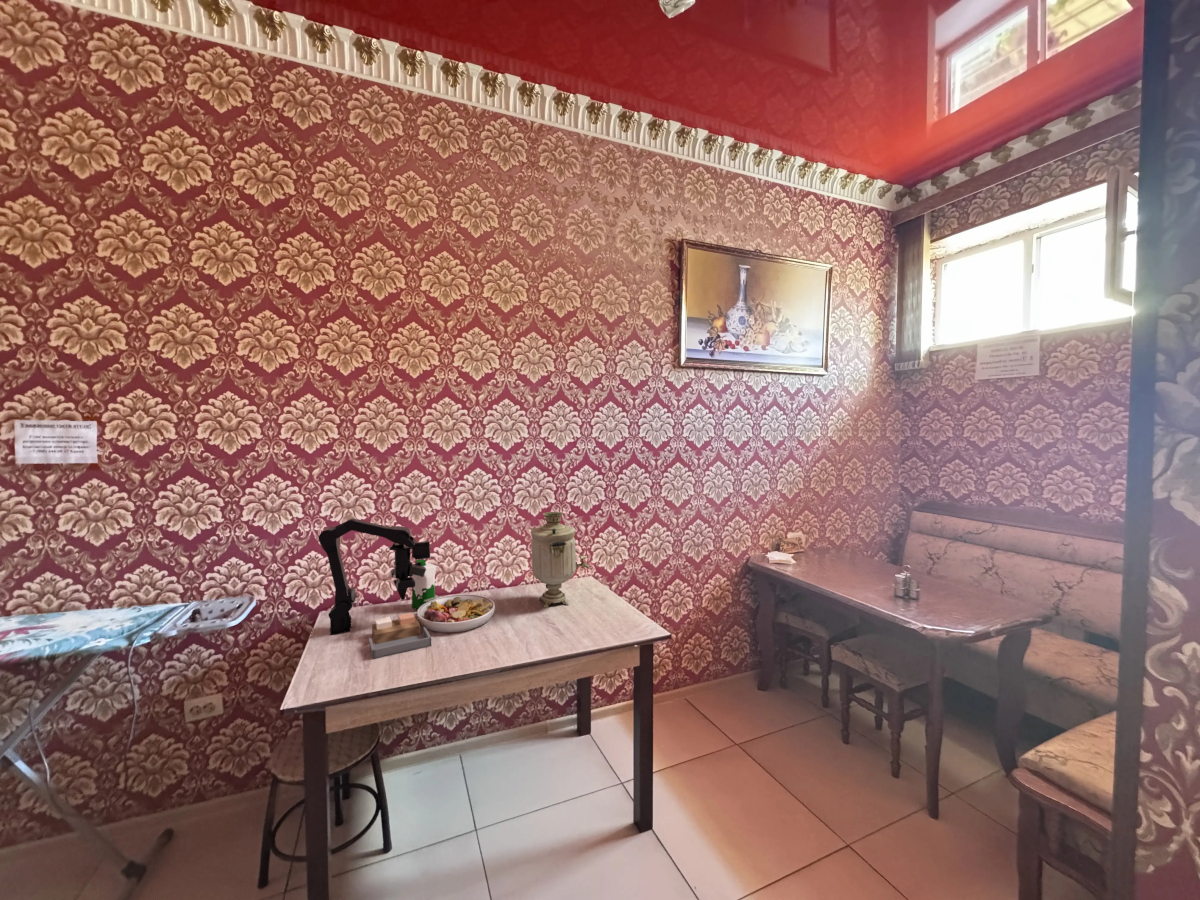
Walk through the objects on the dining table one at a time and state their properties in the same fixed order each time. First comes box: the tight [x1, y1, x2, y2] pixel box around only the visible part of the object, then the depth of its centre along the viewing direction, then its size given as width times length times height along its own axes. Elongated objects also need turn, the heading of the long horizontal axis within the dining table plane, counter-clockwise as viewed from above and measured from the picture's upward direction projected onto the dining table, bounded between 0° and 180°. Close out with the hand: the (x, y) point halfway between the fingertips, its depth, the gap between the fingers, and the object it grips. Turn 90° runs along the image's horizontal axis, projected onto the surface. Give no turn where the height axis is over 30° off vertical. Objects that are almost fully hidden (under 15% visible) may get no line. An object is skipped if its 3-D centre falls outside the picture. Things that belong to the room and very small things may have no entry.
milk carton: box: [411, 559, 438, 611], centre depth 200 cm, size 9×9×20 cm
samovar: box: [530, 511, 591, 609], centre depth 207 cm, size 30×26×40 cm
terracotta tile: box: [398, 612, 416, 625], centre depth 177 cm, size 5×5×2 cm
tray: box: [368, 626, 432, 660], centre depth 165 cm, size 19×10×3 cm, turn 122°
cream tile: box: [374, 616, 392, 630], centre depth 173 cm, size 5×5×2 cm
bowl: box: [416, 593, 496, 633], centre depth 189 cm, size 30×30×8 cm
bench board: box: [371, 617, 421, 645], centre depth 174 cm, size 15×10×4 cm, turn 122°
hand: (402, 599), depth 183 cm, fingers closed
